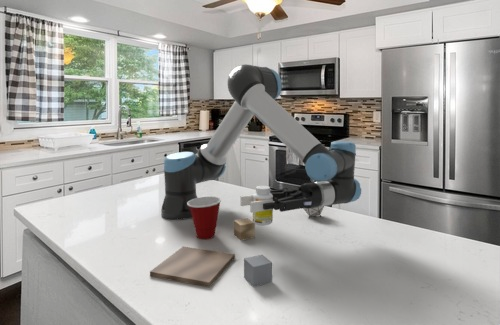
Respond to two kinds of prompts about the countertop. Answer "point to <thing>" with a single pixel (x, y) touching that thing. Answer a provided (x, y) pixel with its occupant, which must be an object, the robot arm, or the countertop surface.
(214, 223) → the plastic cup
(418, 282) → the countertop surface
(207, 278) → the walnut board
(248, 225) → the oak block
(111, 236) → the countertop surface
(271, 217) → the supplement bottle
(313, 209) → the game die
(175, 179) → the robot arm
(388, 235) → the countertop surface
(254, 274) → the slate block
